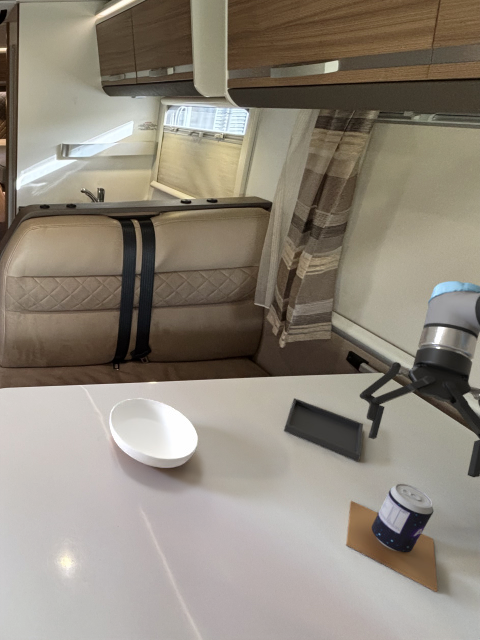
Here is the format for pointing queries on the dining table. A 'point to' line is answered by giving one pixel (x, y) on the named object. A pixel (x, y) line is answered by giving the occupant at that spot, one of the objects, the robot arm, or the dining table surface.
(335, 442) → the tray
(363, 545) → the trivet
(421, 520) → the beverage can
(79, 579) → the dining table surface
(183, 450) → the bowl
